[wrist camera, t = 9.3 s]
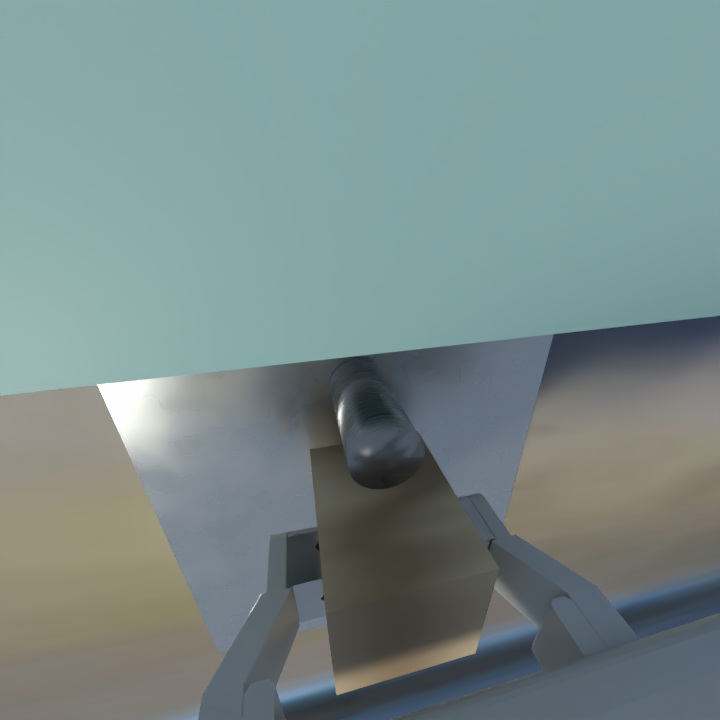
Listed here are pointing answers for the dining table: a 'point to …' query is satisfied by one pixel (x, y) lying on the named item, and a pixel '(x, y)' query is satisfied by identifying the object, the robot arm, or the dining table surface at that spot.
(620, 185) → the cover
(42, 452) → the dining table surface
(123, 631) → the dining table surface
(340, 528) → the block
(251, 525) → the base
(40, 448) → the dining table surface
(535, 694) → the robot arm
